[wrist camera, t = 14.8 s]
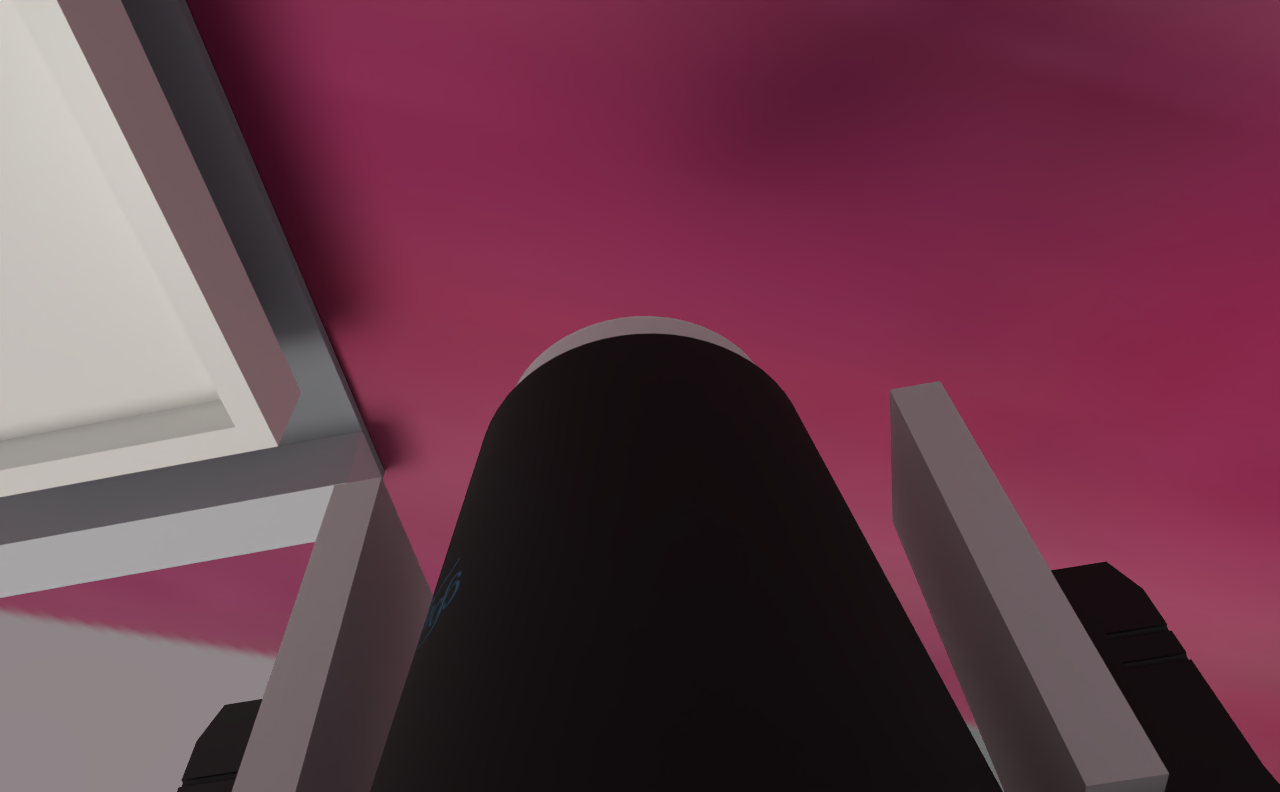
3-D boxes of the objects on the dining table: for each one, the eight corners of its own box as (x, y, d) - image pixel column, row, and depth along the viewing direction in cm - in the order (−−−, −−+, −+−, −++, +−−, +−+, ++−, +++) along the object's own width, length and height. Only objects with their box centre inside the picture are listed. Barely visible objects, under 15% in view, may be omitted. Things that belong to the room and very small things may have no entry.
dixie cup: (311, 375, 15) (-81, 1279, 6) (740, 127, 13) (1087, 916, 4) (571, 644, 19) (567, 1426, 10) (929, 485, 17) (1314, 1279, 8)
